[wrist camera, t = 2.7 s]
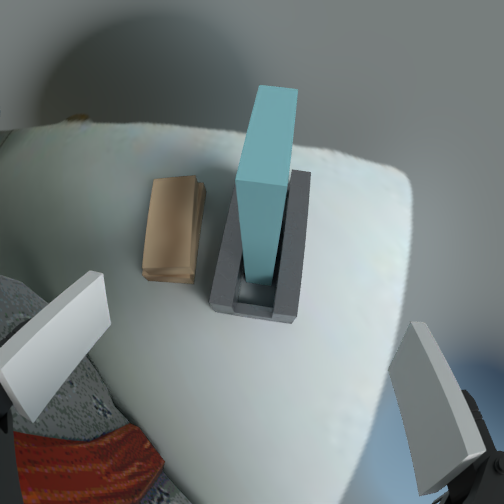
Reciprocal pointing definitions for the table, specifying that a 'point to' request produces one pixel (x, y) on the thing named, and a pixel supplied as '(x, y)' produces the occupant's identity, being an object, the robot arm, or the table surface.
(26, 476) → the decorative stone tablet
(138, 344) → the table surface
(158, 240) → the block
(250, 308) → the board rack
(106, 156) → the table surface
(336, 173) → the table surface
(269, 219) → the teal board
